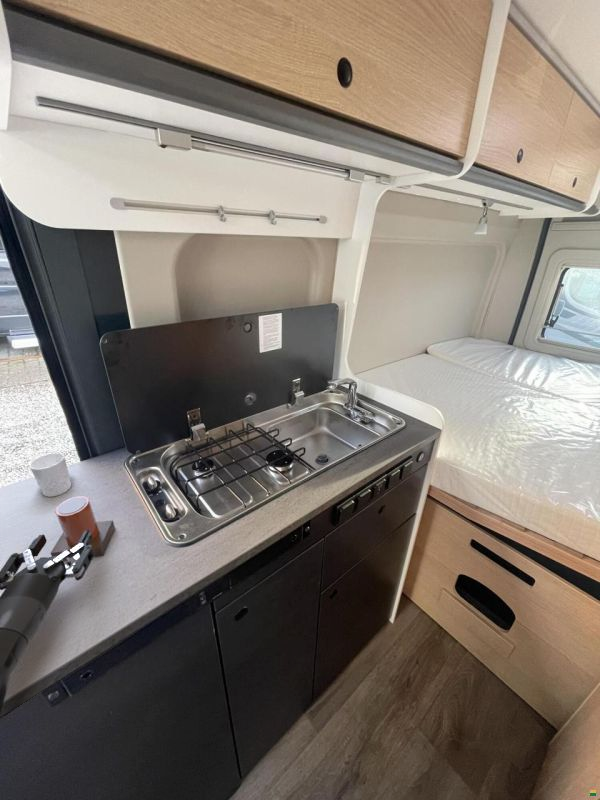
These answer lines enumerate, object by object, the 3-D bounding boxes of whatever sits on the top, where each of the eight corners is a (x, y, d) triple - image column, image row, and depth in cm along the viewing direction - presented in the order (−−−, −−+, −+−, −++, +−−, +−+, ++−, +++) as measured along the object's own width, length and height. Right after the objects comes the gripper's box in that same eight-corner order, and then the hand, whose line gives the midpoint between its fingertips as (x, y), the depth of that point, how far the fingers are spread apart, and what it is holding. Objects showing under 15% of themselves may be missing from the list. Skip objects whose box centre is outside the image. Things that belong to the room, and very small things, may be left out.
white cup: (39, 502, 90) (27, 472, 86) (42, 485, 96) (31, 457, 92) (73, 492, 94) (63, 464, 89) (74, 477, 100) (64, 449, 96)
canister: (61, 548, 72) (49, 517, 68) (74, 527, 77) (63, 496, 73) (92, 544, 73) (81, 513, 69) (103, 523, 78) (93, 494, 74)
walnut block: (55, 565, 72) (50, 553, 70) (72, 537, 79) (67, 525, 78) (104, 559, 74) (100, 547, 72) (116, 532, 81) (112, 520, 79)
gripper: (59, 591, 53) (98, 517, 68) (-41, 604, 51) (21, 525, 65) (72, 620, 56) (106, 543, 71) (-22, 633, 54) (34, 552, 69)
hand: (66, 535), depth 68 cm, fingers open, 8 cm apart
